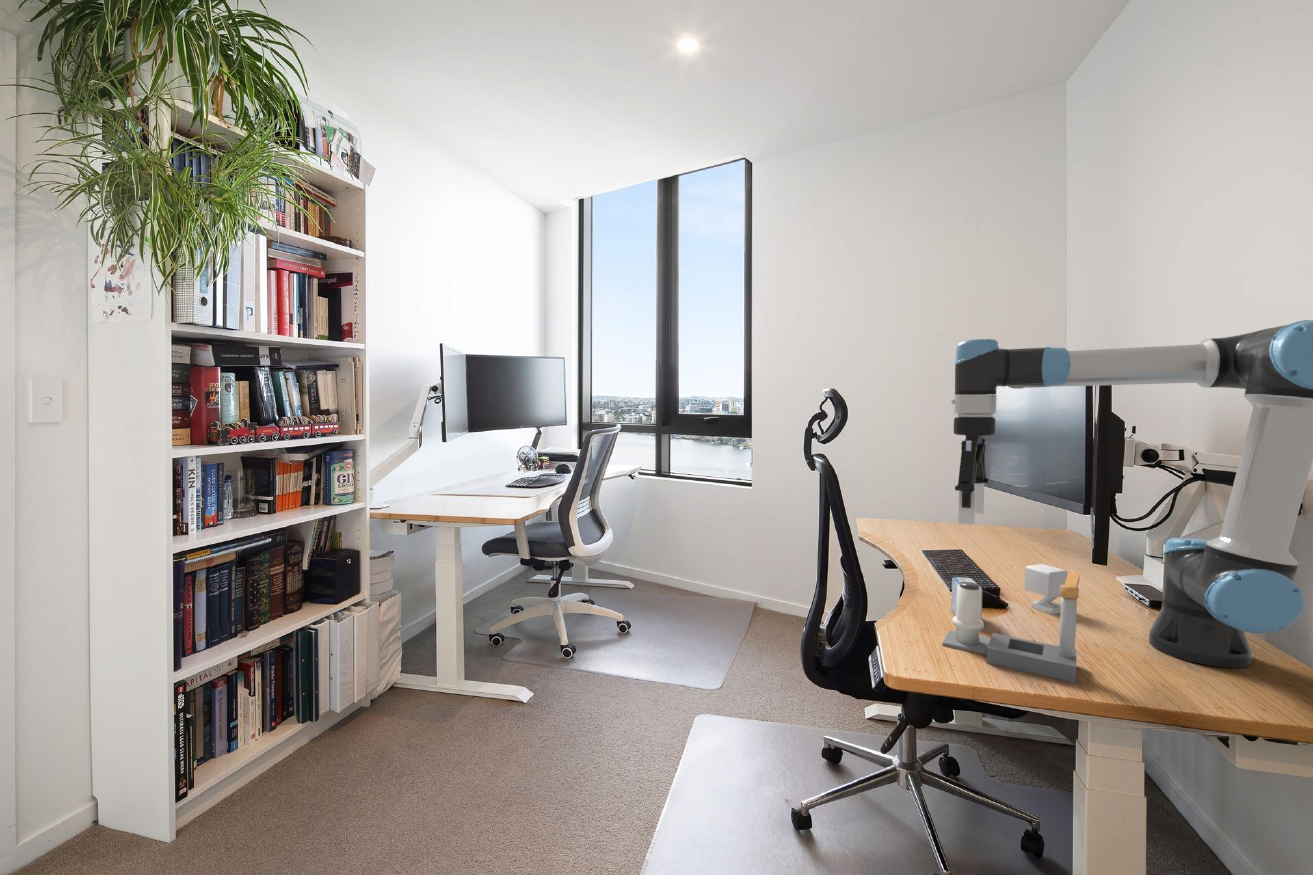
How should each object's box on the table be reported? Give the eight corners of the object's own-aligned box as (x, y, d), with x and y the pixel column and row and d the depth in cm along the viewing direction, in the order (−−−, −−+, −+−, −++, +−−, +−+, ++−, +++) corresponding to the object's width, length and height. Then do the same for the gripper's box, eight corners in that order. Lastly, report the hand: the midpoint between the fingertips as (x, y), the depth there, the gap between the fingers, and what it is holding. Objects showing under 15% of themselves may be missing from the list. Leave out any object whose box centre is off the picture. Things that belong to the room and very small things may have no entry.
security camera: (1042, 602, 147) (1043, 563, 146) (1069, 611, 140) (1071, 571, 139) (1023, 605, 145) (1025, 565, 144) (1050, 614, 138) (1052, 573, 137)
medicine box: (982, 625, 131) (983, 587, 131) (960, 623, 132) (962, 586, 132) (970, 612, 139) (971, 577, 139) (950, 611, 140) (951, 576, 140)
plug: (984, 639, 122) (987, 583, 121) (981, 648, 117) (983, 590, 117) (954, 632, 125) (956, 578, 125) (949, 641, 121) (951, 585, 120)
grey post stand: (1075, 665, 111) (1078, 593, 110) (1075, 683, 104) (1078, 607, 103) (992, 647, 120) (994, 580, 119) (986, 662, 112) (989, 592, 111)
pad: (991, 641, 122) (991, 638, 122) (986, 654, 116) (986, 652, 116) (949, 632, 127) (949, 630, 127) (942, 645, 120) (942, 642, 120)
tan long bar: (1077, 608, 106) (1078, 590, 106) (1059, 605, 108) (1059, 587, 108) (1082, 589, 117) (1082, 572, 117) (1065, 586, 119) (1066, 569, 119)
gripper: (963, 414, 131) (961, 507, 132) (942, 416, 111) (939, 526, 112) (1002, 415, 126) (999, 511, 128) (987, 417, 106) (984, 531, 108)
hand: (971, 518), depth 120 cm, fingers open, 13 cm apart
